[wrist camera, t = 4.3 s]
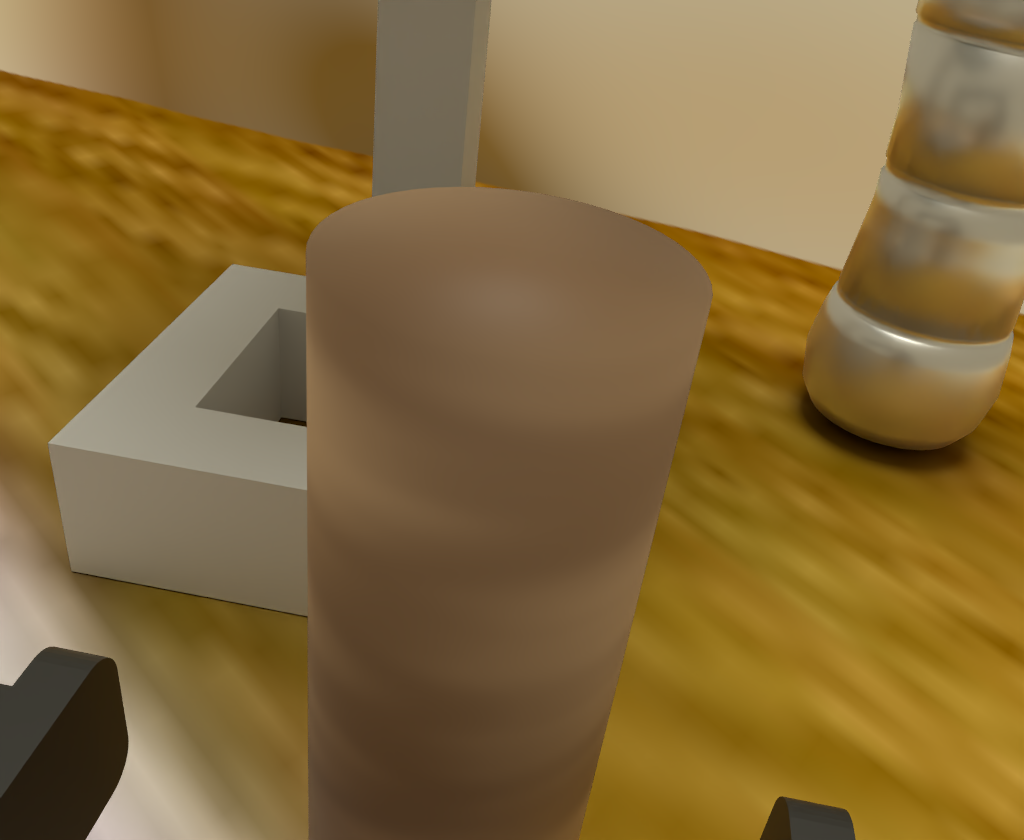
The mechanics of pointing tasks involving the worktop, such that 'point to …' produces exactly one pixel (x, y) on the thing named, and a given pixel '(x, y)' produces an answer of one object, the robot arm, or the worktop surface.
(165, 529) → the socket stand
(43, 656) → the robot arm
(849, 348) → the plastic bottle
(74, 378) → the worktop surface
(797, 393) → the worktop surface
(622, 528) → the peg
